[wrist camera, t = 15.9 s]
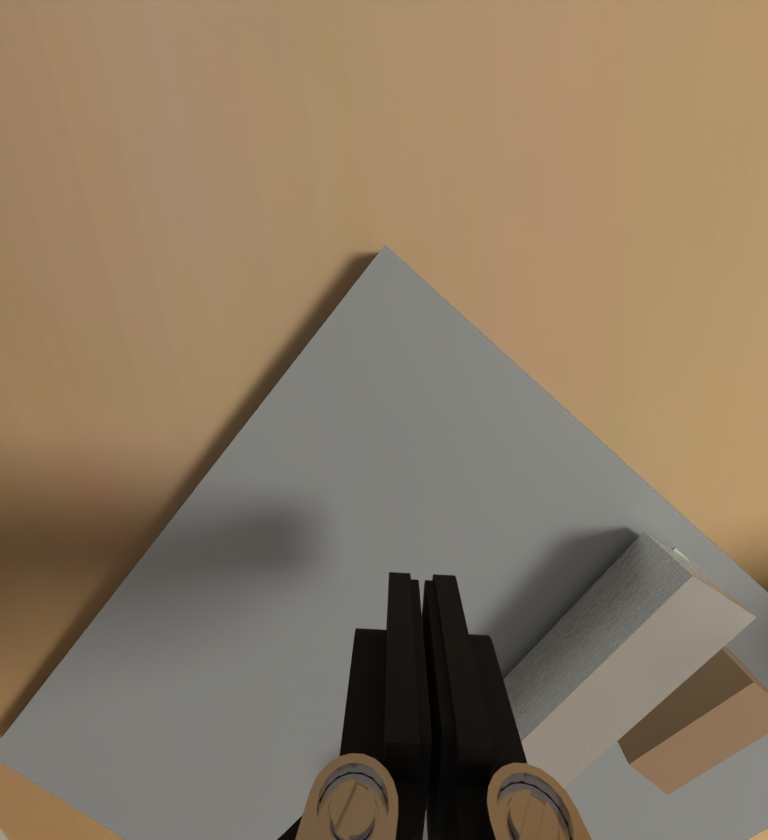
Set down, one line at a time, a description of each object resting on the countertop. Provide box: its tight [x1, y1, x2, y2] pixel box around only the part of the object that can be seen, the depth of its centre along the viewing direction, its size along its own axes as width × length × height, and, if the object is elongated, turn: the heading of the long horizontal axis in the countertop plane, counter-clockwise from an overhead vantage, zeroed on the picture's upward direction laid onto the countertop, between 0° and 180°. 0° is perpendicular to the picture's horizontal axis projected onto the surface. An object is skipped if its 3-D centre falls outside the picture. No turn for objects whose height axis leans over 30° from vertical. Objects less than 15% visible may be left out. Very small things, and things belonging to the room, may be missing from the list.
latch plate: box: [0, 245, 768, 840], centre depth 17 cm, size 28×30×4 cm
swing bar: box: [423, 532, 757, 840], centre depth 14 cm, size 16×4×3 cm, turn 148°
